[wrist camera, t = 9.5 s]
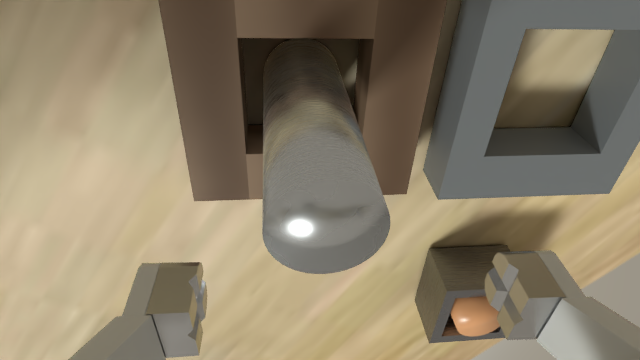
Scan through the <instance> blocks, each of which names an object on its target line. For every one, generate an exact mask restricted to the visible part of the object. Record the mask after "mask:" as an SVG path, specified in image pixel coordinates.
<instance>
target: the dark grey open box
mask: <svg viewBox="0 0 640 360" xmlns="http://www.w3.org/2000/svg"><path fill="white" fill-rule="evenodd" d="M498 252H511V251H510V250H509V248H508V246H507V245H498V246H477V247H456V248H435V249H429V251H428V254H427V258H426V262H425V265H424V269H423V272H422V276H421V280H420V283H419V287H418V290H417V294H416V297H415V303H416V306H417V309H418V311H419V314H420V317H421V320H422V323H423V326H424V329H425V332H426V335H427V338H428V341H429V343H438V342H452V341H466V340H480V339H494V338H506V337H505V335H504V333H503V331H502V329H501V327H498V328H497V329H496V330H494V331H492V332H490V333H488V334H485V335H481V336H473V337H471V336H464V335H462V334H460V333H459V332H458V331H457V328H456V326H455V324H454V321H453V319H452V316H451V314H450V312H451V309H452V306H453V304H454V301H455V298H468V297H484V296H486V293H485V278H486V276H487V273H488V272H489V271H490V270H491V269H493V268H494V267H495V266H494V264H493V262H492V261H493V258H494V256H495V255H496V254H497V253H498Z"/></svg>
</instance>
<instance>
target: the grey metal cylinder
mask: <svg viewBox="0 0 640 360" xmlns="http://www.w3.org/2000/svg"><path fill="white" fill-rule="evenodd" d="M389 229H390V215H389V211H388V208H387V205H386V202H385V200H384V197H383V194H382V191H381V188H380V185H379V182H378V180H377V177H376V174H375V171H374V168H373V165H372V162H371V160H370V157H369V154H368V151H367V148H366V145H365V142H364V140H363V137H362V134H361V131H360V128H359V125H358V122H357V120H356V117H355V114H354V111H353V108H352V105H351V102H350V100H349V97H348V94H347V91H346V88H345V85H344V82H343V80H342V77H341V74H340V71H339V68H338V65H337V63H336V60H335V58H334V56H333V54H332V53H331V52H330V50H329V49H328V48H327V47H326V46H324V45H323V44H321V43H319V42H318V41H315V40H312V39H308V38H295V39H291V40H288V41H285V42H283V43H281V44H280V45H278V46H277V47H276V48H275V49H274V50H273V51H272V52H271V53H270V55H269V56H268V58H267V60H266V63H265V66H264V75H263V240H264V243H265V246H266V248H267V249H268V251H269V252H270V254H271V255H272V256H273V257H274V258H275V259H276V260H277V261H279V262H280V263H281V264H283V265H285V266H287V267H289V268H291V269H294V270H297V271H300V272H305V273H313V274H326V273H334V272H340V271H343V270H347V269H349V268H352V267H355V266H357V265H359V264H361V263H362V262H364V261H366V260H367V259H369V258H370V257H371V256H373V255H374V254H375V253H376V252H377V251H378V250H379V248H380V247H381V246H382V245H383V243H384V241H385V240H386V238H387V235H388V233H389Z"/></svg>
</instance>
